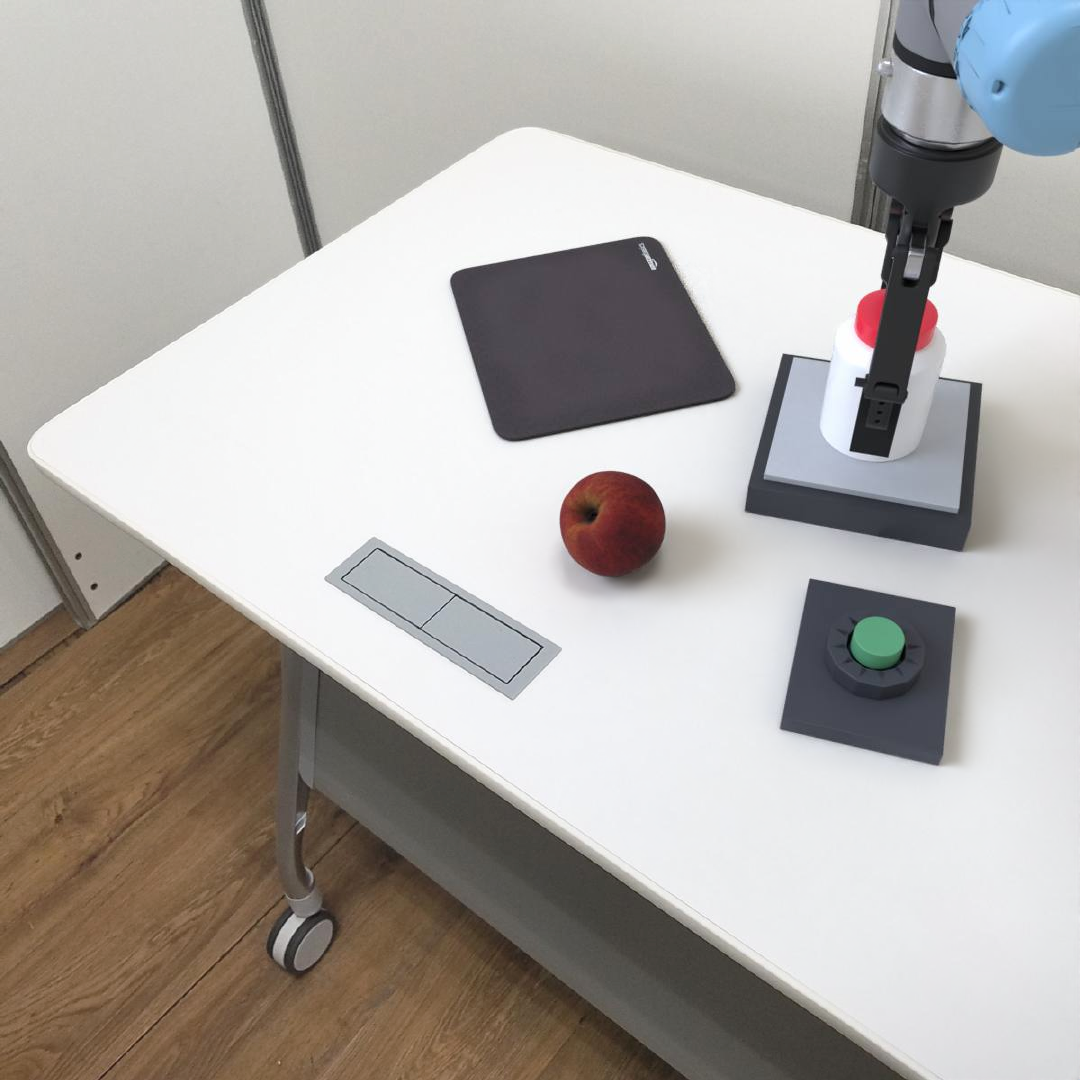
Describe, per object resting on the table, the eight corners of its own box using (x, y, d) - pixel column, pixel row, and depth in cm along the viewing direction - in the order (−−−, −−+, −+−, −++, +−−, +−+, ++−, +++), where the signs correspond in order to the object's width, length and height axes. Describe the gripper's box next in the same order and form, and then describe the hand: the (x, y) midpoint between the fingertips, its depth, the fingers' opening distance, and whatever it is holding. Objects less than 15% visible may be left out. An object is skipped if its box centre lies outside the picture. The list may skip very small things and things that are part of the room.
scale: (961, 552, 80) (973, 521, 78) (744, 511, 84) (748, 480, 82) (974, 409, 90) (984, 377, 88) (779, 378, 94) (783, 347, 91)
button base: (938, 766, 69) (949, 741, 67) (779, 729, 71) (784, 704, 69) (951, 619, 76) (961, 592, 74) (807, 589, 79) (812, 563, 77)
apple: (547, 536, 84) (541, 462, 78) (641, 508, 85) (643, 433, 79) (581, 608, 79) (578, 535, 73) (680, 577, 80) (685, 503, 74)
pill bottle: (900, 476, 81) (932, 360, 73) (802, 440, 84) (822, 325, 76) (937, 414, 85) (971, 298, 77) (843, 382, 88) (866, 266, 80)
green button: (897, 674, 71) (902, 660, 69) (847, 663, 71) (851, 650, 70) (902, 635, 73) (907, 621, 71) (853, 625, 73) (857, 611, 72)
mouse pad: (741, 395, 93) (742, 393, 92) (498, 444, 90) (497, 442, 90) (655, 234, 109) (655, 233, 109) (446, 273, 106) (446, 271, 106)
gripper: (898, 23, 74) (849, 284, 90) (853, 227, 59) (803, 497, 75) (1015, 32, 72) (944, 297, 88) (1000, 245, 57) (917, 518, 73)
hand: (879, 389), depth 82 cm, fingers open, 13 cm apart
